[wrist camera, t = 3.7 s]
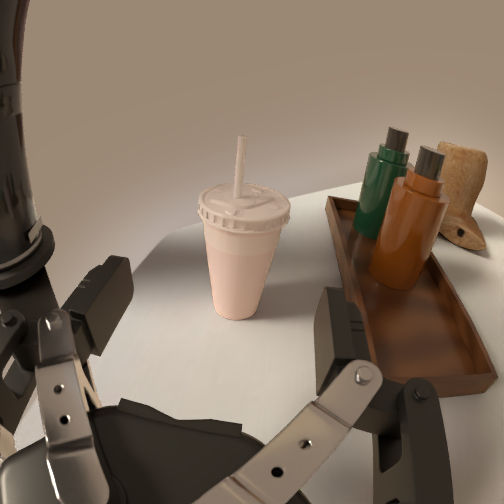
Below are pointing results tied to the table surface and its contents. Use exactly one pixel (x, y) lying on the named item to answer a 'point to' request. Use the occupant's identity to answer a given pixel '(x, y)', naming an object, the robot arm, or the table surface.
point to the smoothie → (240, 239)
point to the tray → (410, 317)
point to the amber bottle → (410, 223)
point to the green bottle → (380, 182)
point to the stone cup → (462, 193)
